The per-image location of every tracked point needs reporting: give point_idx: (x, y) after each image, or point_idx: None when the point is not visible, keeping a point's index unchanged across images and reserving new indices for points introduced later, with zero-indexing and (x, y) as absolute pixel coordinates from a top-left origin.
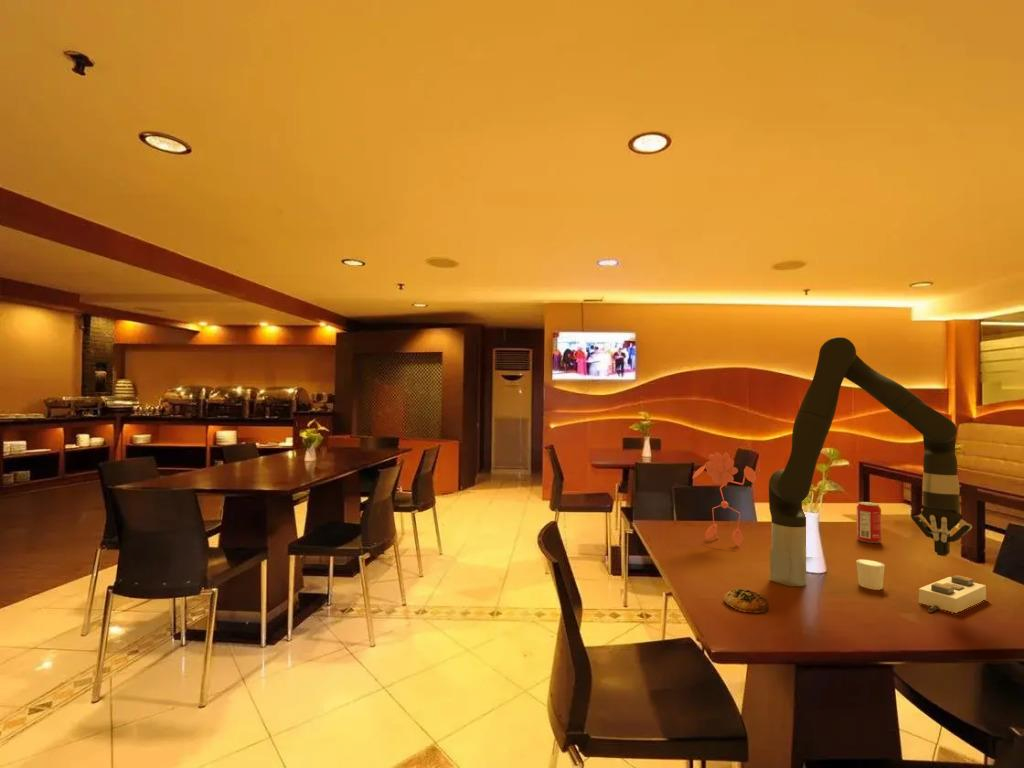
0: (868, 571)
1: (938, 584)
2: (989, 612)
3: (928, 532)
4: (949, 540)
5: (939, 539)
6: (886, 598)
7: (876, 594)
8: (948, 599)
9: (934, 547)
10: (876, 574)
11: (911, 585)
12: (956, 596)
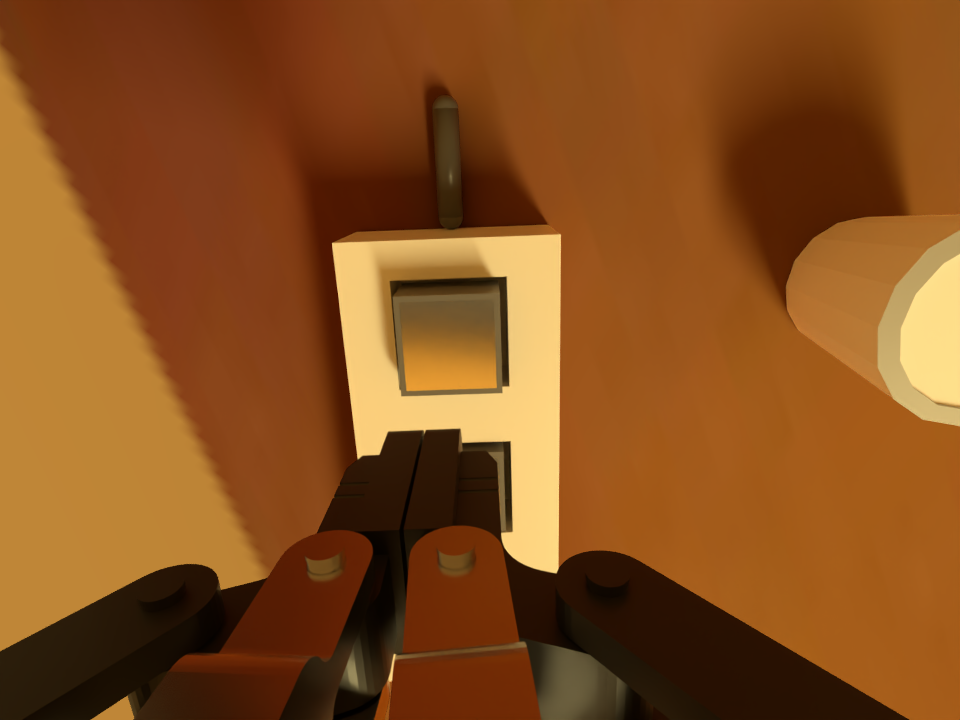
0: (937, 221)
1: (478, 356)
2: (302, 443)
3: (607, 624)
4: (252, 598)
5: (412, 572)
6: (703, 123)
7: (772, 143)
8: (380, 239)
9: (497, 482)
10: (871, 255)
11: (697, 525)
12: (356, 302)
